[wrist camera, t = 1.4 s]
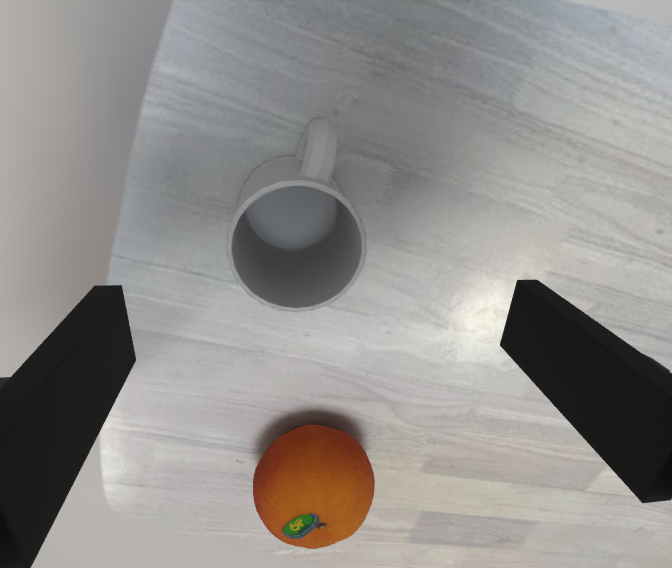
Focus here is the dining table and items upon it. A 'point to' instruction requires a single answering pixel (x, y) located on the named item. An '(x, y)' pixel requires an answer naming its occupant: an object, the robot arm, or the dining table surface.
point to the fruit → (313, 486)
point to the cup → (297, 228)
